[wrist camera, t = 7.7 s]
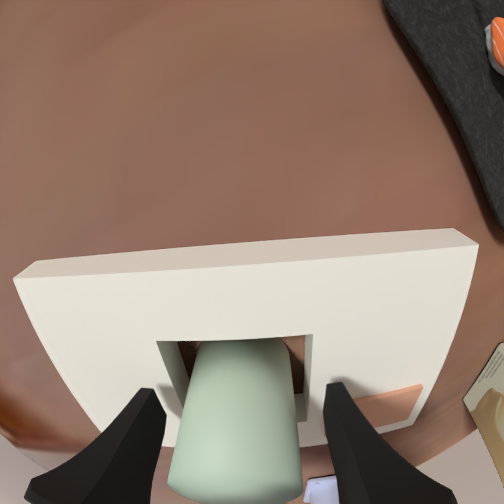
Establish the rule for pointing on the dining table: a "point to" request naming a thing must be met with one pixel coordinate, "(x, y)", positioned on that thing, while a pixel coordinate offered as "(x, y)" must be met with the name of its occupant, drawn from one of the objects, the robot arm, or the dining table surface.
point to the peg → (239, 426)
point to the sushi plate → (465, 75)
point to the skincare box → (490, 407)
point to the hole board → (258, 318)
